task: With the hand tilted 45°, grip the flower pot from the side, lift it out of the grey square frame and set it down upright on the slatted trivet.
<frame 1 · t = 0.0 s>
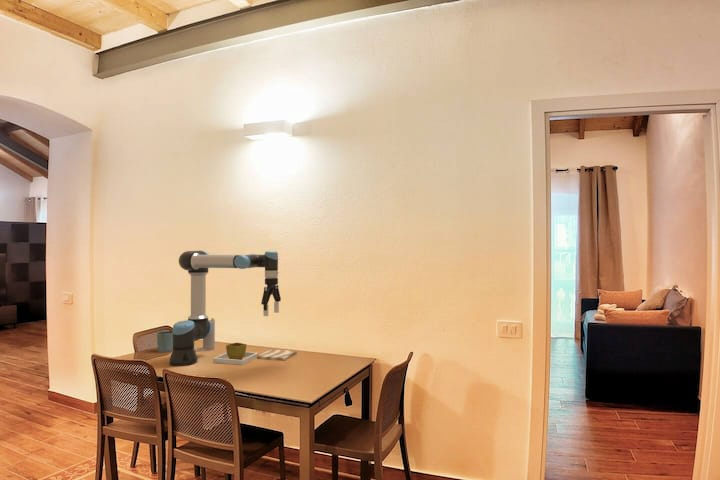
hand: (271, 314, 257), 28 cm above the table, tool pointing down, fingers open, 13 cm apart
flower pot: (236, 359, 264), resting in grey square frame
drinking glass: (165, 350, 286), on the table
slatted trivet: (277, 356, 272), on the table
grey square frame: (236, 359, 264), on the table
grey upright panel: (203, 349, 289), on the table
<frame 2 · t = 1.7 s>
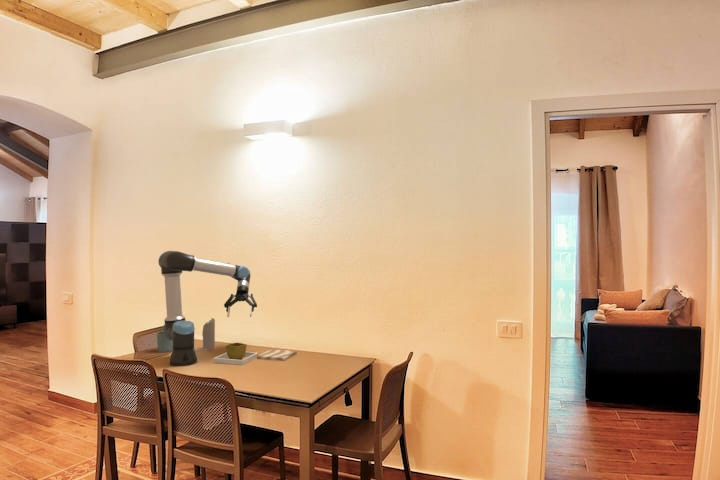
hand: (239, 315, 274), 24 cm above the table, tool tilted 45°, fingers open, 13 cm apart
nothing on the table moved.
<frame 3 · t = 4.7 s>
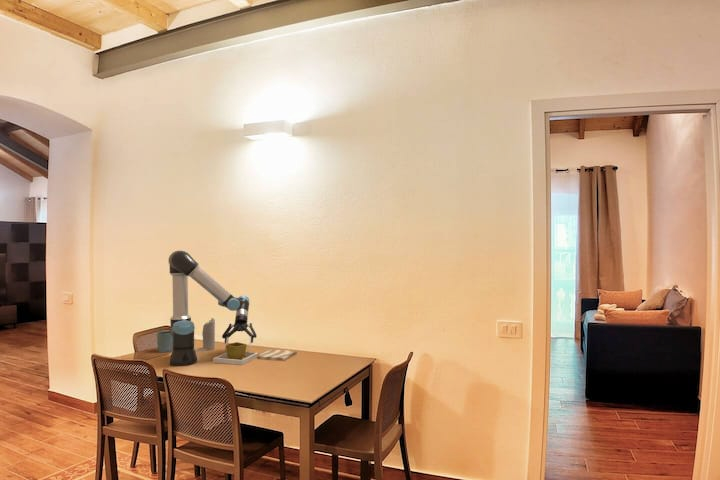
hand: (238, 347, 265), 7 cm above the table, tool tilted 45°, fingers open, 13 cm apart
flower pot: (236, 359, 264), resting in grey square frame, touching gripper
everything else where it was.
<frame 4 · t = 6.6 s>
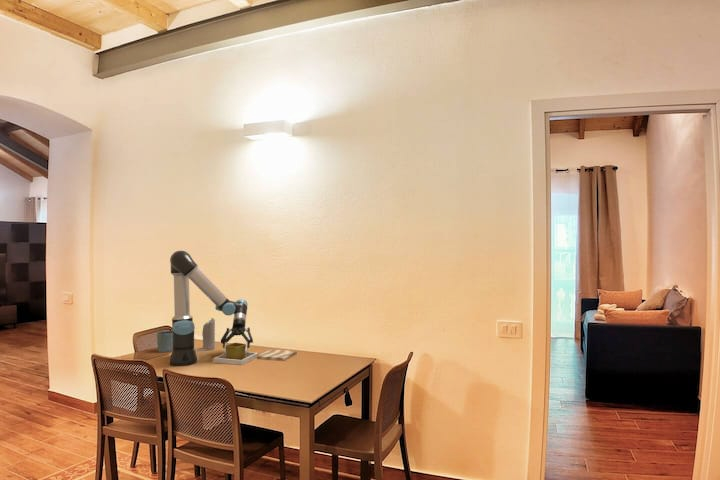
hand: (235, 352, 261), 5 cm above the table, tool tilted 45°, fingers closed on flower pot, 11 cm apart
flower pot: (235, 360, 263), resting in grey square frame, touching gripper
everything else where it was.
when the fingers open (8 cm above the table, at t = 13.1 s): flower pot drops 1 cm, resting on slatted trivet.
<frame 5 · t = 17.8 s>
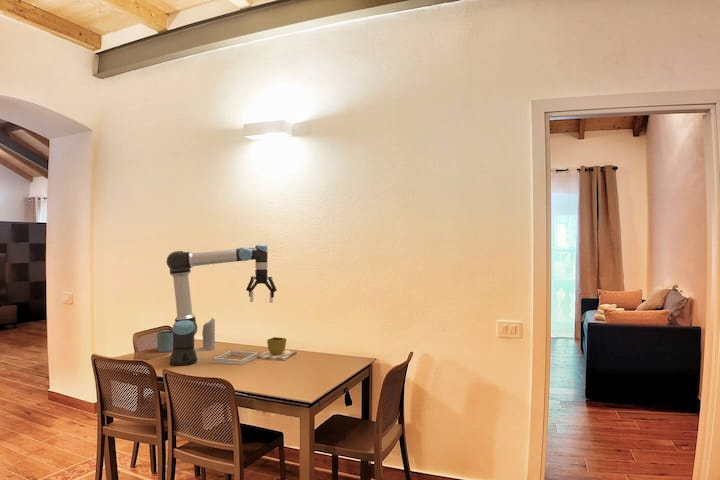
hand: (261, 302, 282), 32 cm above the table, tool pointing down, fingers open, 13 cm apart
flower pot: (276, 353, 272), point 1 cm above the table, touching slatted trivet
everything else where it was.
at the end: flower pot inside the target area on the slatted trivet (0.3 cm from its centre), point 1.3 cm above the slatted trivet's base; flower pot tilted 0°; the gripper is holding nothing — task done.
